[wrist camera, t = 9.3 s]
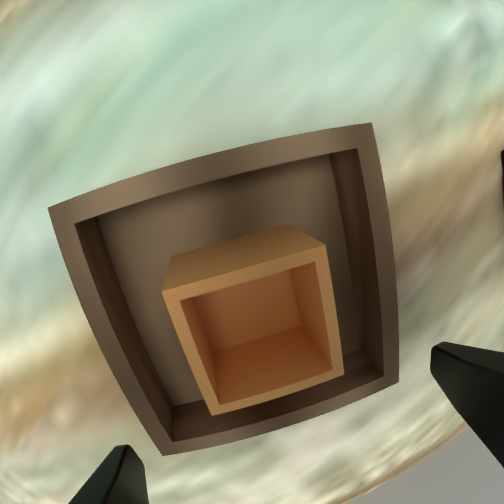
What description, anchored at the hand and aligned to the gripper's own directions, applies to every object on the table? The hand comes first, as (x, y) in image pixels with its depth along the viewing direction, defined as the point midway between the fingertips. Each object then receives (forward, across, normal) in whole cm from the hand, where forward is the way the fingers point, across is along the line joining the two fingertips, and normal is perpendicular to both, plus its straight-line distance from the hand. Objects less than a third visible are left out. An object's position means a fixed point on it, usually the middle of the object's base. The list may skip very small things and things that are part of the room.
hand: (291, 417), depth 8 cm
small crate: (+10, 0, 0) cm, 10 cm away
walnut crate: (+10, 0, 0) cm, 10 cm away
